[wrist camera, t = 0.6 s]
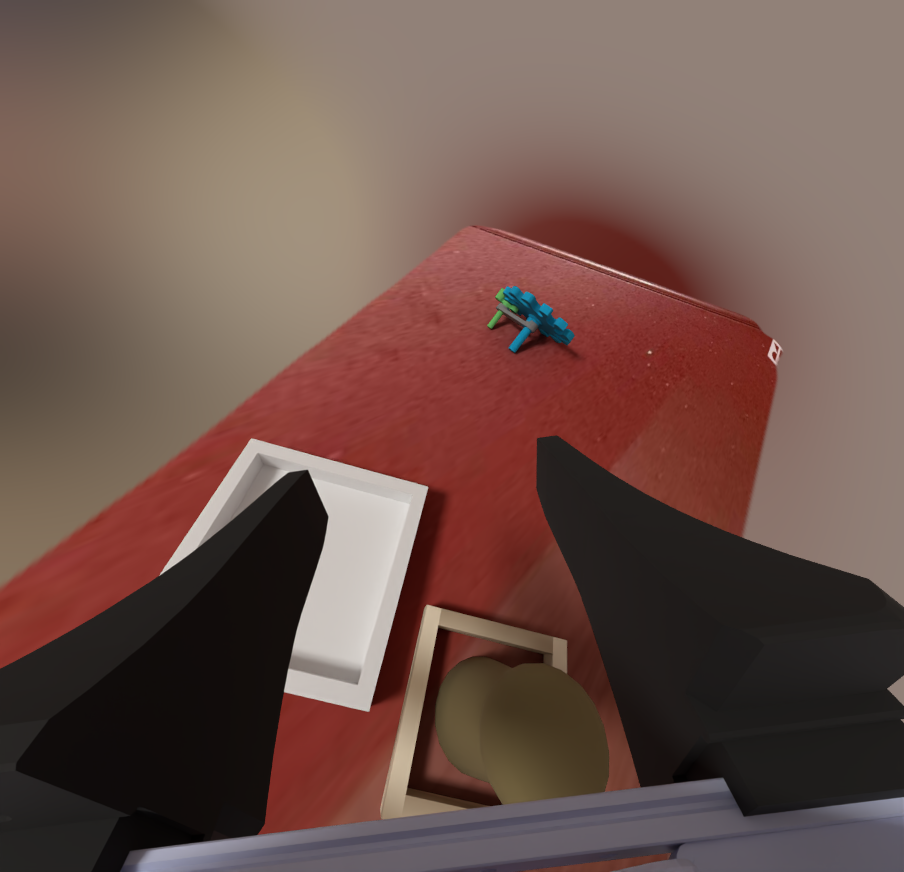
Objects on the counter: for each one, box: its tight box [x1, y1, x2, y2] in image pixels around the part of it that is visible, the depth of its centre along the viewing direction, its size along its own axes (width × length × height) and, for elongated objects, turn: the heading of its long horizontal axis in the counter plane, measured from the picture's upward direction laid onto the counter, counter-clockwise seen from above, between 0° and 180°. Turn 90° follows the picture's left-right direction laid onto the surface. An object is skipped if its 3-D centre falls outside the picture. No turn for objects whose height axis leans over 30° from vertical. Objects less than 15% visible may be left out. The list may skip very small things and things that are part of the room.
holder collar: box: [380, 605, 567, 819], centre depth 21 cm, size 10×10×2 cm
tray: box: [159, 438, 428, 712], centre depth 23 cm, size 14×14×2 cm
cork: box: [435, 657, 609, 805], centre depth 17 cm, size 6×6×11 cm
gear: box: [487, 286, 575, 353], centre depth 41 cm, size 11×6×10 cm
